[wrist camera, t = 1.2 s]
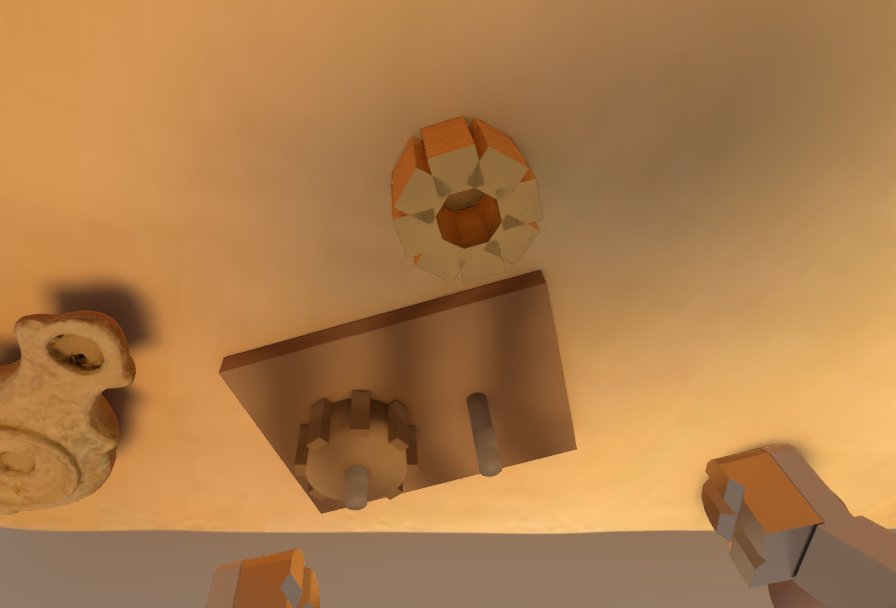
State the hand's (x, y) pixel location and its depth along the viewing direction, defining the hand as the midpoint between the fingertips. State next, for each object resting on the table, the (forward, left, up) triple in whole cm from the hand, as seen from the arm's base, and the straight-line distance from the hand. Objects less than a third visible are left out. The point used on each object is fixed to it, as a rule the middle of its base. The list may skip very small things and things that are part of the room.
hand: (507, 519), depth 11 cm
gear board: (+5, +14, -18) cm, 23 cm away
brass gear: (-1, +1, -18) cm, 18 cm away
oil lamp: (+23, +5, -18) cm, 29 cm away
